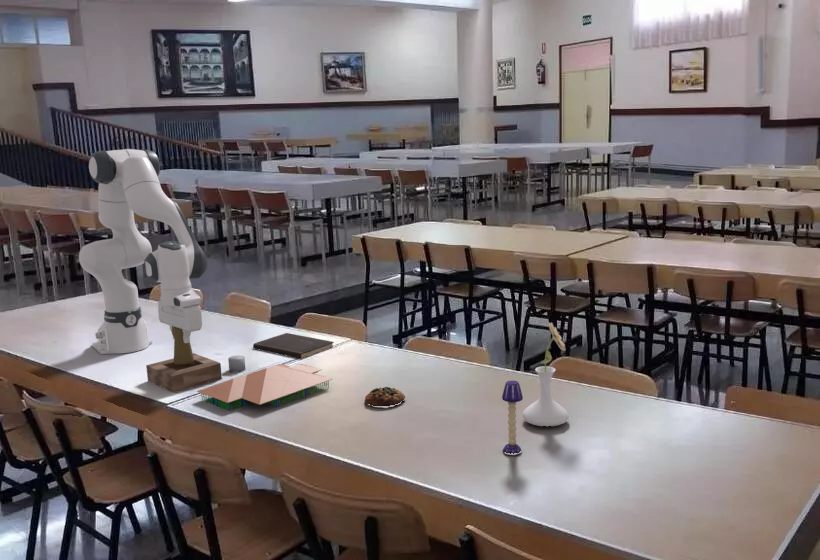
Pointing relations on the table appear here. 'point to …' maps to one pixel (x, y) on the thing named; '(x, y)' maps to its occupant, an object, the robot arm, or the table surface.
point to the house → (266, 385)
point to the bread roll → (384, 397)
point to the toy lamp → (512, 413)
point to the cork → (181, 348)
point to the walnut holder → (184, 373)
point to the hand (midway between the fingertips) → (181, 341)
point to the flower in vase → (546, 394)
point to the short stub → (236, 363)
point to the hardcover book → (293, 345)
